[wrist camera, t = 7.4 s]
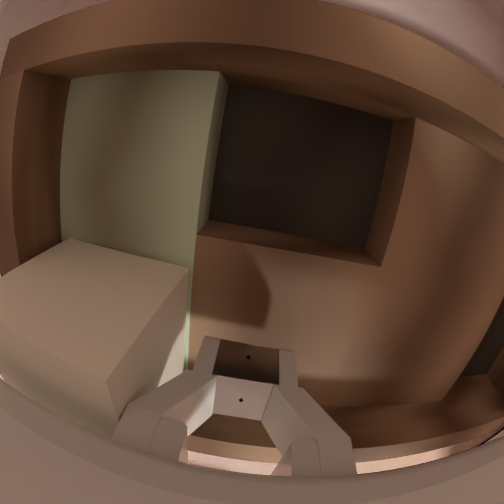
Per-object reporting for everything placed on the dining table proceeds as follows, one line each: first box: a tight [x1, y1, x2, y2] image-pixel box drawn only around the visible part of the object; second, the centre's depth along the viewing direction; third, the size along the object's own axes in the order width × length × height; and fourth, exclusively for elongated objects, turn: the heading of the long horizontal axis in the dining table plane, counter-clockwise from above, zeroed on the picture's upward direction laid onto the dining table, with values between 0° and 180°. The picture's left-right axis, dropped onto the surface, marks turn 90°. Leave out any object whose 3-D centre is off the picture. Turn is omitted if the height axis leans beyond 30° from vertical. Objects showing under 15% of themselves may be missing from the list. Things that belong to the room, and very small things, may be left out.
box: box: [0, 0, 504, 463], centre depth 9 cm, size 28×15×4 cm, turn 81°
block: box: [0, 238, 190, 439], centre depth 7 cm, size 5×5×5 cm
